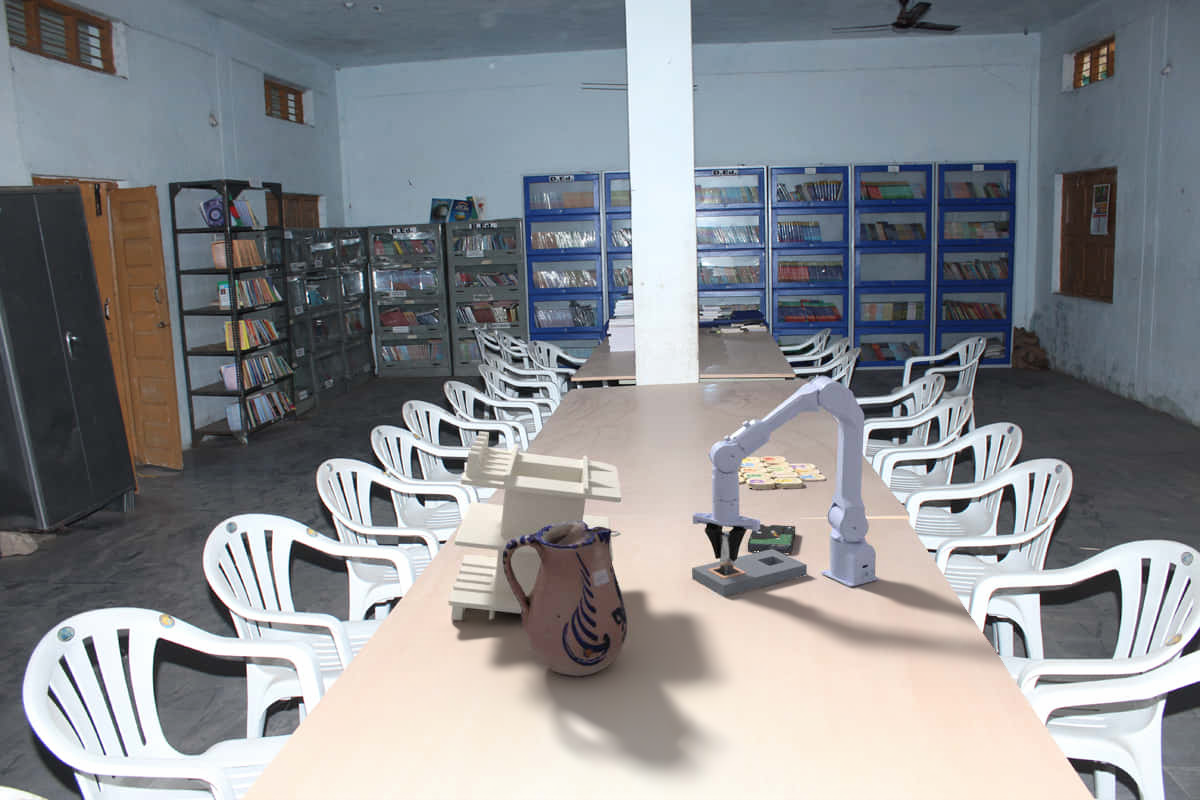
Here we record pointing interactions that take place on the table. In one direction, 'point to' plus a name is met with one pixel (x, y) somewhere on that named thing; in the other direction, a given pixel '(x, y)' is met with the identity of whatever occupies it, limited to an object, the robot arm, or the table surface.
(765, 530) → the disk drive
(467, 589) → the desk organizer
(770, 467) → the alphabet tiles
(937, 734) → the table surface
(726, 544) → the steel pin
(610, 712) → the table surface
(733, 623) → the table surface
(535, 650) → the ceramic pitcher
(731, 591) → the dock plate
